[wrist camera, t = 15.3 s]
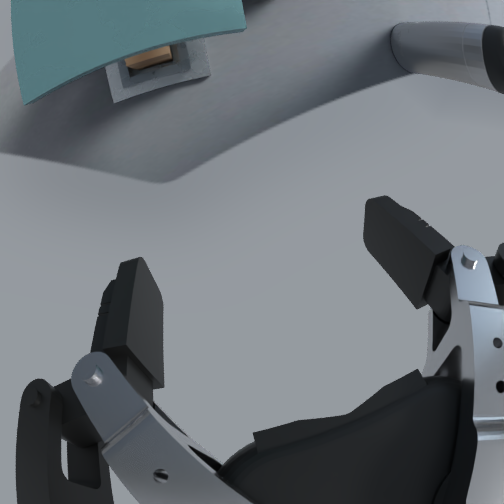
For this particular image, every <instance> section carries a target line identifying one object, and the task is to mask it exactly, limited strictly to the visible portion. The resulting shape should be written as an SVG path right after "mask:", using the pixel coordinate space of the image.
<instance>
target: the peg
mask: <svg viewBox="0 0 504 504" xmlns="http://www.w3.org/2000/svg"><path fill="white" fill-rule="evenodd" d="M171 61H173V58H172V53H171V48H170V45H169V46H165V47H162V48H158V49H155V50H151V51H148V52H145V53H142V54H138V55H135V56H132V57H130V58H127V59H125V63H126V66H127V67H130V68H133V69H137V70H143V69H146V68H150V67H153V66H156V65H160V64H163V63H167V62H171Z"/></svg>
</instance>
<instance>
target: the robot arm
mask: <svg viewBox="0 0 504 504" xmlns="http://www.w3.org/2000/svg"><path fill="white" fill-rule="evenodd" d="M391 46H392V50H393V53H394V56H395V58H396V59H397V61H398V62H399V64H400V65H401V66H402V67H403V68H404V69H406V70H407V71H409V72H411V73H418V74H424V75H430V76H435V77H440V78H445V79H450V80H455V81H459V82H464V83H467V84H471V85H475V86H479V87H483V88H486V89H489V90H493V91H496V92H499V93H502V94H504V27H500V26H494V25H487V24H478V23H465V22H406V23H400V24H398V25H396V26H395V28H394V29H393V31H392V34H391ZM363 239H364V243H365V246H366V248H367V250H368V251H369V252H370V254H371V255H372V256H373V257H374V258H375V259H376V260H377V262H378V263H379V264H380V265H381V266H382V267H383V269H384V270H385V271H386V272H387V273H388V274H389V276H390V277H391V278H392V279H393V280H394V282H395V283H396V284H397V285H398V287H399V288H400V289H401V290H402V291H403V293H404V294H405V295H406V296H407V298H408V299H409V300H410V301H411V303H412V304H413V305H414V307H415V308H416V309H419V308H421V307H423V306H425V305H427V304H429V306H430V307H431V308H430V310H429V314H428V349H427V351H428V352H427V360H426V364H425V367H424V369H423V372H422V375H421V373H420V372H419V370H418V369H416V370H414V371H413V372H411V373H409V374H407V375H405V376H404V377H402V378H400V379H398V380H396V381H394V382H392V383H390V384H388V385H386V386H384V387H383V388H381V389H380V390H379V391H378V392H377V393H375V394H374V395H373V396H372V397H370V398H369V399H368V400H366V401H365V402H364V403H363V404H361V405H360V406H359V407H357V408H356V409H355V410H353V411H352V412H350V413H348V414H346V415H341V416H335V417H326V418H317V419H307V420H298V421H294V422H291V423H288V424H284V425H281V426H277V427H273V428H270V429H266V430H262V431H258V432H254V433H253V436H254V439H255V441H254V442H252V443H250V444H248V445H247V446H245V447H243V448H242V449H240V450H239V451H238V452H236V453H235V454H234V455H232V456H231V457H230V458H229V459H228V460H227V461H226V462H225V463H224V464H223V463H222V462H221V461H219V460H218V459H217V458H216V457H214V456H213V455H212V454H211V453H209V452H208V451H207V450H206V449H204V448H203V447H202V446H201V445H199V444H198V443H197V442H196V441H194V440H193V439H192V438H191V437H190V436H189V435H188V434H187V433H185V432H184V431H183V430H182V429H181V428H180V427H179V426H178V425H177V424H176V423H175V422H174V421H173V420H172V419H171V418H170V417H169V416H168V415H167V414H166V413H165V412H164V411H163V410H162V408H161V407H160V406H159V405H158V404H157V403H156V402H155V401H154V400H153V389H159V388H164V363H163V301H162V296H161V293H160V291H159V288H158V286H157V284H156V282H155V280H154V278H153V277H152V274H151V272H150V270H149V268H148V266H147V264H146V262H145V261H144V259H143V258H142V257H138V258H135V259H131V260H128V261H125V262H121V263H120V266H119V270H118V273H117V277H116V279H115V280H111V282H110V283H109V285H108V286H107V288H106V289H105V291H104V292H103V296H102V301H101V307H100V309H99V313H98V315H99V316H98V317H97V321H96V326H95V331H94V336H93V341H92V346H91V352H90V353H89V354H87V355H85V356H84V357H82V358H81V359H80V360H79V362H78V363H77V364H76V366H75V368H74V369H73V372H72V376H71V379H69V380H67V381H65V382H63V383H61V384H59V385H57V386H54V387H53V386H51V385H50V384H49V383H48V382H46V381H45V380H44V379H35V380H33V381H32V382H30V383H29V384H28V386H27V387H26V388H25V390H24V392H23V395H22V399H21V404H20V412H19V419H18V429H17V443H16V491H17V504H114V501H113V496H112V489H111V481H110V472H109V466H110V467H111V469H112V470H113V471H114V473H115V474H116V475H117V477H118V478H119V479H120V481H121V482H122V483H123V484H124V486H125V487H126V488H127V489H128V490H129V492H130V493H131V494H132V495H133V497H134V498H135V499H136V500H137V501H138V502H139V503H140V504H504V243H502V244H500V245H499V247H498V250H497V253H496V255H495V256H491V257H484V256H483V255H482V254H481V253H480V252H479V251H478V250H476V249H474V248H472V247H469V246H465V245H460V246H456V247H454V246H453V245H452V244H451V243H450V242H449V241H448V240H446V239H445V238H444V237H443V236H442V235H441V234H439V233H438V232H437V231H436V230H435V229H434V228H432V227H431V226H429V225H428V223H426V222H425V221H424V220H421V218H420V217H419V216H418V215H416V214H415V213H414V212H413V211H411V210H409V209H407V208H404V207H402V206H400V205H399V204H398V203H396V202H395V201H394V200H392V199H391V198H390V197H388V196H380V197H376V198H371V199H368V200H367V202H366V205H365V219H364V232H363ZM61 439H63V440H65V441H67V461H68V480H67V478H66V477H65V476H64V474H63V471H62V466H61Z"/></svg>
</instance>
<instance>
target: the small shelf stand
mask: <svg viewBox="0 0 504 504" xmlns="http://www.w3.org/2000/svg"><path fill="white" fill-rule="evenodd" d="M11 21H12V37H13V47H14V55H15V62H16V69H17V75H18V80H19V86H20V90H21V95H22V99H23V104H24V105H27V104H31V103H34V102H36V101H37V100H39V99H41V98H42V97H44V96H46V95H48V94H49V93H51V92H53V91H55V90H57V89H59V88H60V87H62V86H64V85H66V84H68V83H70V82H72V81H74V80H76V79H78V78H80V77H83V76H85V75H87V74H89V73H91V72H94V71H96V70H98V69H101V68H103V67H105V68H106V73H107V77H108V82H109V86H110V90H111V94H112V98H113V102H114V103H117V102H119V101H122V100H125V99H128V98H130V97H133V96H136V95H139V94H142V93H145V92H148V91H152V90H155V89H158V88H162V87H165V86H169V85H172V84H176V83H180V82H184V81H188V80H192V79H197V78H201V77H206V76H210V75H211V72H210V67H209V62H208V57H207V52H206V46H205V41H204V38H205V37H211V36H216V35H223V34H230V33H238V32H243V31H244V30H245V29H246V28H247V26H246V21H245V16H244V10H243V5H242V0H11ZM169 45H170V48H171V53H172V58H173V61H171V62H167V63H163V64H160V65H156V66H153V67H150V68H146V69H143V70H137V69H133V68H130V67H127V66H126V63H125V59H127V58H130V57H132V56H135V55H138V54H142V53H145V52H148V51H151V50H155V49H158V48H162V47H165V46H169Z"/></svg>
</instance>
